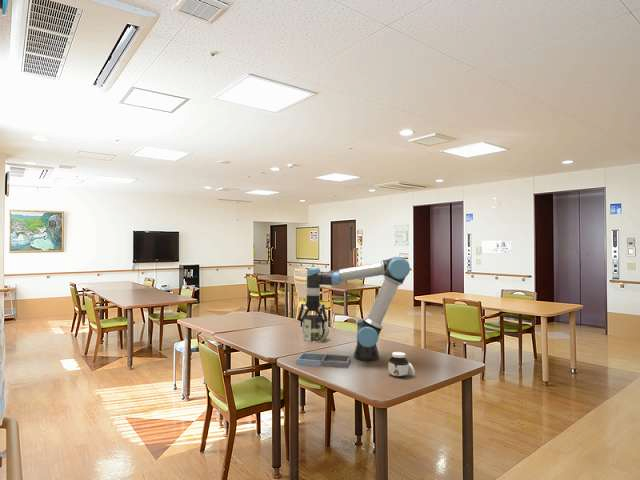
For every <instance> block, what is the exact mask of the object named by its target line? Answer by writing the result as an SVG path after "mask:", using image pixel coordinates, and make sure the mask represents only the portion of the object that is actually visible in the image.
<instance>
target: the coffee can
mask: <svg viewBox="0 0 640 480" xmlns="http://www.w3.org/2000/svg"><path fill="white" fill-rule="evenodd" d="M320 318H321V317H319V316H318V314H317V315H316V314H307V315H306V316H304V333H303V339H302V340H303V342H305V343H309V344H312V343H313V344H315V343H316V344H317V343H321V342H320V341H321V334H320V324H321V320H320Z"/></svg>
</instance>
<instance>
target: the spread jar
mask: <svg viewBox="0 0 640 480" xmlns="http://www.w3.org/2000/svg"><path fill="white" fill-rule="evenodd" d="M387 367H388V368H387V369H388V373H389V375H390V376H391V377H393V378H394V379H395V378H396V379H403V378H406V377H407V376H408V375H409V376H411V377H413V376H415V375H416V370H415V368H414V366H413V364H412V363H411V362H410V361H409V360H408V359H407V357H406V353H405V352H401V351H394V352H391V357H390V358H389V359H388V366H387Z"/></svg>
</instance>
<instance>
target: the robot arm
mask: <svg viewBox="0 0 640 480" xmlns="http://www.w3.org/2000/svg"><path fill="white" fill-rule="evenodd" d="M410 266H411V265H410V263H409V261H408V260H407V259H406V258H404V257H400V256H393V257H391V258H387V259H384V260H381V261H380V262H376V263H375V262H374V263H369V264H363V265H357V266H352V267H347V268H340V269H334V270H333V269H332V270H329V271H321V269H320V267H319V268H317V267H309V268H308V269H306V270H307V271H306V302H305V303H301V304H300V310H299V313H298V316H297V321H299V322H300V327H301V334H304V316H306V315H309V314H308V313H309V312H316V314H317V315H318V316H319V317H321V318H320V320H321V324H320V334H321V335H322V332H323V328H324V325H325V323H328V321H329V319H328V317H327V316H328V315H327V313H326V309H325V308H326V307H325V306H326V305H325V304H321V303H320V294H321V293H320V291H321V290H320V288H321V287H320V286H340V285H341V282H347V281H348V282H349V281H354V280H359V279H360V280H361V279H366V278H373V277H380V276H383V278H384V279H383V282H382V285H381V287H379V288H380V289H379V291H378V293H377V295H376V296H375V297H376V298H375V300H374V302H373V303H372V306H371V308H370V310H369V313H368V315H367V317H364V318H363V319H362V318H359V319H358V320H357V323H356V346H355V350H354V353H353V358H354V359H355V360H359V361H364V362H373V361H377V360H379V359H380V353H379V350H378V347H377V345H378V344H377V343H378V341H379V337H380V333H381V332H382V329H383V326H382V322H383V321H384V318H385V316H386V314H387V312H388V310H389V308H390V305H391V303H392V300H393V299H394V297H395V294H396V292H397V290H398V288H399V287H400V286H402V285H403V284H404V282H405V279H406V277H407V276H409V274H410V271H411V267H410ZM305 307H306V308H307V309H306V311H305V312H304V309H305ZM319 308H320V309H321V311H320V309H319ZM303 312H304V314H303ZM321 312H322V313H321Z"/></svg>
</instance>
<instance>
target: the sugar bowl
mask: <svg viewBox="0 0 640 480" xmlns="http://www.w3.org/2000/svg"><path fill="white" fill-rule="evenodd" d="M329 334H330V329H329V327H328V326H327V325H326V324H324V328H323V332H322V335H321V341H320V342H319V343H321V342H325V341H326V339H327V337H328V336H329Z"/></svg>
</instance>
